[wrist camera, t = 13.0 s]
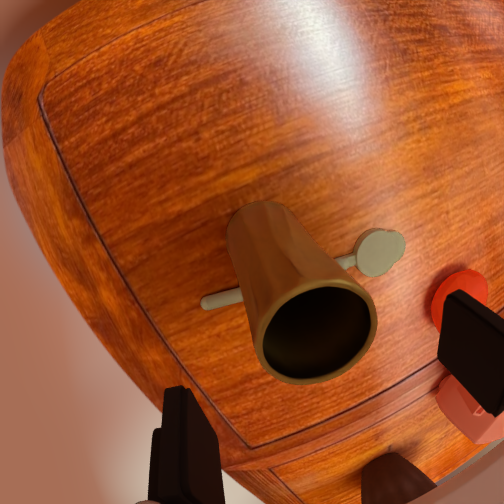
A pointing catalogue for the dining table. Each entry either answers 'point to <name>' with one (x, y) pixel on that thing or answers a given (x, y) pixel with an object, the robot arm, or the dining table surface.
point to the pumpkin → (460, 280)
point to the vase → (297, 297)
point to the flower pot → (393, 481)
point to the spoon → (342, 262)
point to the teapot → (468, 413)
